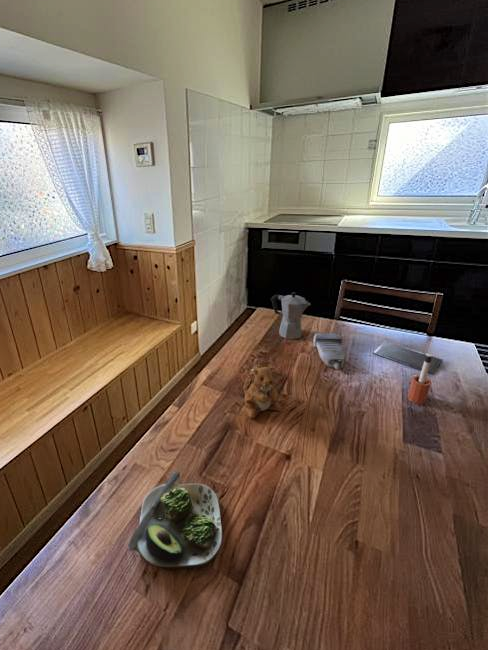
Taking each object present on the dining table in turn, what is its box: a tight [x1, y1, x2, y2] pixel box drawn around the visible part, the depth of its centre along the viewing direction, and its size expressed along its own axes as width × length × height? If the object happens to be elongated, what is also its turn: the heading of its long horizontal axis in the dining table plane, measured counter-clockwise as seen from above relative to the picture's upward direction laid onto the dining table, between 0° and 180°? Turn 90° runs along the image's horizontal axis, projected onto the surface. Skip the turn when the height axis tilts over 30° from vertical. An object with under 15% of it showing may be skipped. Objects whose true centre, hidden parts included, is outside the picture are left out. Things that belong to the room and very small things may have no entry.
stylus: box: [418, 352, 434, 384], centre depth 93 cm, size 1×1×15 cm
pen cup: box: [407, 375, 433, 405], centre depth 95 cm, size 4×4×7 cm
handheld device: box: [312, 332, 347, 371], centre depth 118 cm, size 10×20×5 cm, turn 173°
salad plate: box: [127, 470, 223, 570], centre depth 68 cm, size 19×18×5 cm
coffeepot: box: [270, 291, 311, 340], centre depth 131 cm, size 15×9×18 cm, turn 53°
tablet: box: [372, 340, 443, 376], centre depth 115 cm, size 18×11×1 cm, turn 42°
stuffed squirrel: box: [243, 363, 282, 419], centre depth 97 cm, size 10×14×13 cm
